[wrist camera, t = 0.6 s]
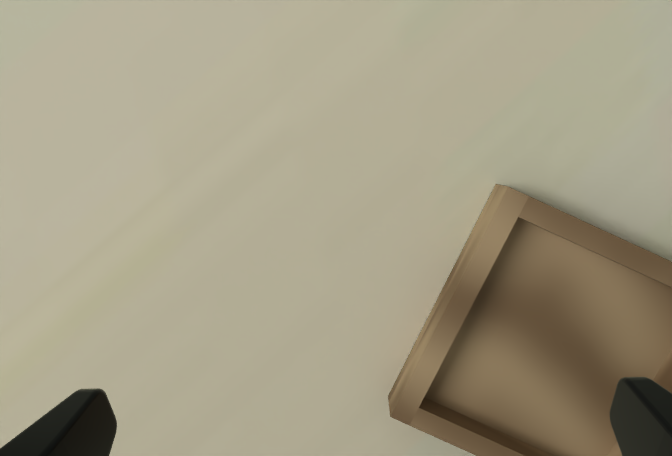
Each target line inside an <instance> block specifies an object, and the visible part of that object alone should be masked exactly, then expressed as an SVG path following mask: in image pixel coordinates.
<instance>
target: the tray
mask: <svg viewBox="0 0 672 456" xmlns="http://www.w3.org/2000/svg"><path fill="white" fill-rule="evenodd" d="M623 377H647V378H650V379H651V380H653V381H655V382H656V383H657V384H659V385H660V386H662V387H663V388H665V389H666V390H668V391H669V392H671V393H672V262H671V261H669V260H667V259H664V258H662V257H660V256H658V255H656V254H654V253H651V252H649V251H647V250H645V249H643V248H641V247H638V246H636V245H634V244H632V243H630V242H627V241H625V240H623V239H621V238H619V237H617V236H614V235H612V234H610V233H608V232H606V231H604V230H601V229H599V228H597V227H595V226H593V225H590V224H588V223H586V222H584V221H582V220H580V219H577V218H575V217H573V216H571V215H569V214H567V213H564V212H562V211H560V210H558V209H556V208H553V207H551V206H549V205H547V204H545V203H543V202H540V201H538V200H536V199H534V198H532V197H530V196H527V195H525V194H523V193H521V192H519V191H516V190H514V189H512V188H510V187H507V186H503V185H498V184H496V185H495V187H494V189H493V191H492V193H491V195H490V197H489V199H488V201H487V203H486V204H485V206H484V208H483V210H482V212H481V214H480V216H479V218H478V220H477V222H476V224H475V226H474V228H473V230H472V232H471V234H470V236H469V238H468V240H467V242H466V244H465V246H464V248H463V250H462V252H461V254H460V256H459V258H458V260H457V262H456V264H455V266H454V267H453V269H452V271H451V273H450V275H449V277H448V279H447V281H446V283H445V285H444V287H443V289H442V291H441V293H440V295H439V297H438V299H437V301H436V303H435V305H434V307H433V309H432V311H431V313H430V315H429V317H428V319H427V321H426V323H425V325H424V327H423V328H422V330H421V332H420V334H419V336H418V338H417V340H416V342H415V344H414V346H413V348H412V350H411V352H410V354H409V356H408V358H407V360H406V362H405V364H404V366H403V368H402V370H401V372H400V374H399V376H398V378H397V380H396V382H395V384H394V386H393V388H392V390H391V391H390V393H389V395H388V399H389V408H390V417H392V418H394V419H397V420H399V421H401V422H403V423H405V424H408V425H410V426H412V427H414V428H417V429H419V430H421V431H423V432H425V433H428V434H430V435H432V436H434V437H436V438H439V439H441V440H443V441H445V442H448V443H450V444H452V445H454V446H456V447H459V448H461V449H463V450H465V451H468V452H470V453H472V454H474V455H476V456H622V454H621V451H620V448H619V445H618V442H617V440H616V437H615V434H614V431H613V429H612V426H611V422H610V408H611V404H612V401H613V397H614V394H615V390H616V387H617V384H618V381H619V380H620V379H621V378H623Z"/></svg>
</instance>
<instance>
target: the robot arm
mask: <svg viewBox="0 0 672 456" xmlns="http://www.w3.org/2000/svg"><path fill="white" fill-rule="evenodd" d="M610 422H611V426H612V429H613V431H614V434H615V437H616V440H617V442H618V445H619V448H620V451H621V454H622V456H672V393H671V392H669V391H668V390H666V389H665V388H663V387H662V386H660V385H659V384H657V383H656V382H655V381H653V380H651V379H650V378H647V377H623V378H621V379H620V380H619V381H618V384H617V387H616V390H615V394H614V397H613V401H612V404H611V408H610ZM116 429H117V422H116V418H115V415H114V413H113V410H112V408H111V405H110V403H109V400H108V398H107V395H106V393H105V392H104V391H103V390H102V389H80V390H78V391H76V392H74V393H73V394H72V395H70V396H69V397H68V398H66V399H65V400H64V401H62V402H61V403H60V404H58V405H57V406H56V407H54V408H53V409H52V410H50V411H49V412H48V413H46V414H45V415H44V416H43V417H41V418H40V419H39V420H37V421H36V422H35V423H33V424H32V425H31V426H29V427H28V428H27V429H25V430H24V431H23V432H21V433H20V434H19V435H17V436H16V437H15V438H13V439H12V440H11V441H10V442H8V443H7V444H6V445H4V446H3V447H2V448H0V456H109V454H110V451H111V448H112V444H113V441H114V438H115V434H116Z"/></svg>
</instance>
